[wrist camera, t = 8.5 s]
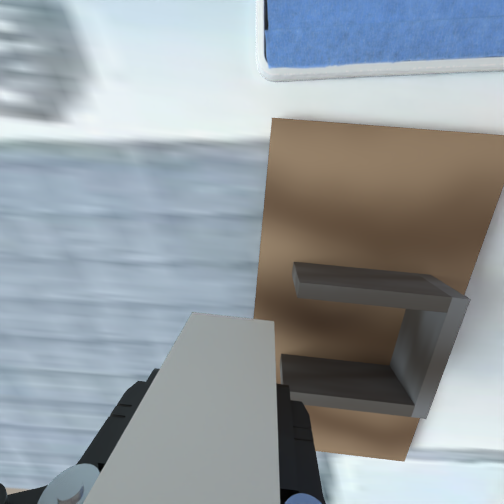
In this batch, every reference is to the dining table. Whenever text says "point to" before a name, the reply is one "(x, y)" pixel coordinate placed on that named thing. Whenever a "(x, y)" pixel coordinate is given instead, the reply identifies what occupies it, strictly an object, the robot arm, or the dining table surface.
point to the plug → (203, 422)
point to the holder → (370, 270)
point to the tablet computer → (377, 38)
